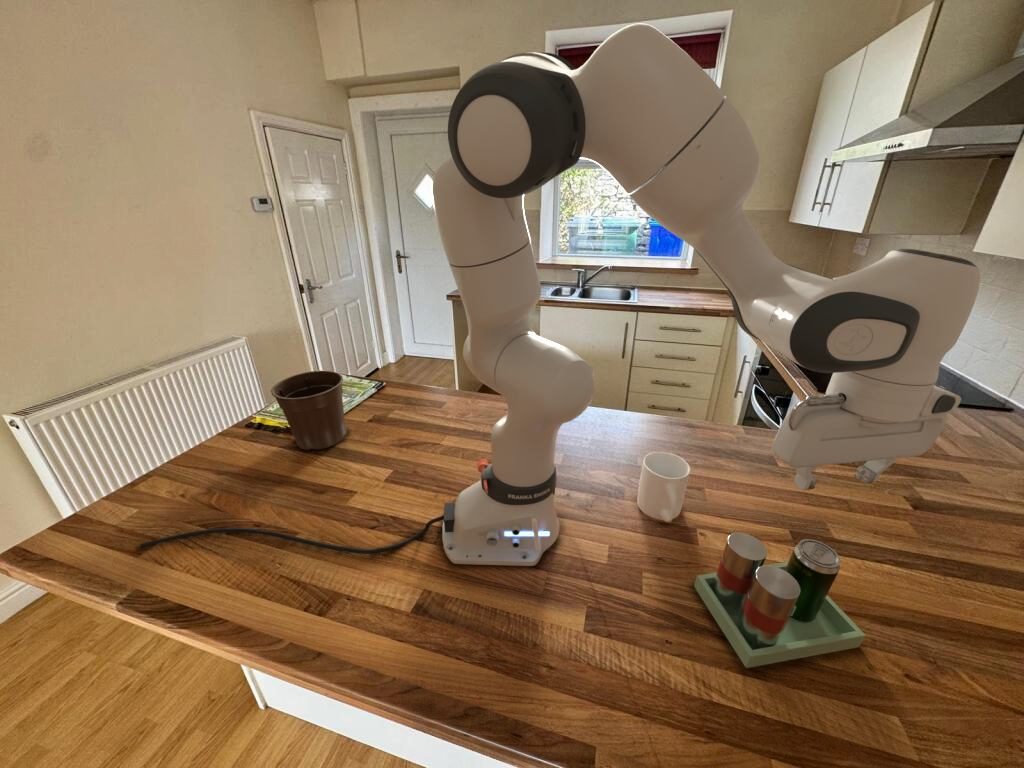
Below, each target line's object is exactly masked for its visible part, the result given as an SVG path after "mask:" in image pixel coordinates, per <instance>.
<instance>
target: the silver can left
mask: <svg viewBox="0 0 1024 768" xmlns="http://www.w3.org/2000/svg"><path fill="white" fill-rule="evenodd" d="M766 547H767V546H765V545H764V543H763V542H762V541H761V540H759V538H756V536H754V535H751V534H748V533H745V532H733V533H731V534H730V535H729V536H728V537H727V540H726V544H725V547H724V550H723V552H722V556H721V558H720V561H719V565H718V567H717V572H716V573H717V575H716V578H715V581H714V585H713V588H712V591H713V593H714V594H715V596H716V597H717V599H718V600H719V602H720V603H721V605H722V606H723V608H724V609H725V610H726V612H727V613H728V615H732V616H740V613H741V611H742V608H743V604H744V601H745V599H746V596H747V593H748V591H749V589H750V587H751V584H752V581H753V579H754V576H755V573H756V571H757V569H758V568H759V567H761V566H764V564H765V561H766V559H767V556H768V549H767V548H766Z"/></svg>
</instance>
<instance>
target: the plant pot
mask: <svg viewBox="0 0 1024 768" xmlns="http://www.w3.org/2000/svg"><path fill="white" fill-rule="evenodd" d="M343 382H344V376H343V375H342V374H341V373H339V372H337V371H335V370H311V371H306V372H301V373H297V374H294V375H291V376H288V377H286V378H284V379H281V380H280V381H278V382H276V383H275V384H274V385H273V386H272V387H271V389H270V394H271V395H272V397H274V398H275V400H276V402H277V404H278V407H279V408H280V409H281V410H282V412H283V414H284V417H285V419H286V421H287V423H288V426H289V428H290V431H291V433H292V435H293V438H294V441H295V443H296V445H297V447H299V448H300V449H301V450H305V451H310V450H315V451H321V450H324V449H328V448H331V447H333V446H335V445H337V444H338V443H340V442H342V441H343V440H344V438H345V436H346V435H347V432H348V431H347V424H346V418H345V410H344V401H343V393H344V390H343Z"/></svg>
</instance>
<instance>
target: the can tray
mask: <svg viewBox="0 0 1024 768" xmlns="http://www.w3.org/2000/svg"><path fill="white" fill-rule="evenodd" d="M788 562H789V561H785V562H784V561H783V562H777V563H770V564H769V565H770V566H775V567H778V568H780V569H782V570H784V571H785V569H786V567H787V565H788ZM716 575H717V572H712V573H704V574H698V575H696V578H695V582H694V584H693V585H694V589H695V590H696V592H697V593H698V595H699V596H700V598H701V600H702V601H703V603H704V604H705V606H706V608H707V609H708V611H709V612H710V614H711V615H712V617H713V619H714V620H715V622H716V623H717V625H718V626H719V628H720V630H721V631H722V632H723V634H724V636H725V637H726V639H727V641H728V642H729V644H730V645H731V647H732V648H733V650H734V651H735V653H736V655H737V657H738V658H739V659H740V661H741V663H742V664H743V666H744V668H746V669H749V668H754V667H759V666H764V665H770V664H775V663H781V662H787V661H792V660H797V659H802V658H807V657H812V656H818V655H823V654H829V653H834V652H839V651H845V650H850V649H856V648H859V647H860V646H861V645H862V643H863V641H864V639H865V638H866V636H867V635H866V634H865V633H864V632H863V631H862V630H861V629H860V627H858V625H857V624H856V623H854V621H853V620H852V619H851V618H850V617H849V616H848V615H847V614H846V613H845V612H844V611H843V610H842V609H841V608H840V606H838V605H837V603H836V602H835V601H833V599H832V598H831V597H830V596H829V595H828V594H827V596H826V598H825V600H824V601H823V603H822V605H821V607H820V609H819V611H818V613H817V615H816V617H815V619H814V620H813V621H811V622H808V623H797V622H795V621H792V620H790V619H789V620H788V622H787V624H786V626H785V629H784V630H783V632H782V634H781V636H780V638H779V641H778V643H777V645H776V646H772V647H766V648H761V649H755V650H752V649H751V648H750V646H749V645H748V643H747V642H746V640H745V639H744V637H743V636H742V634H741V633H740V631H739V630H738V628H737V627H736V624H737V621H738V619H739V616H732V615H728V613H727V612H726V610H725V609H724V608H723V606H722V605H721V603H720V602H719V600H718V599H717V597H716V596H715V594H714V593H713V591H712V588H713V585H714V581H715V578H716Z"/></svg>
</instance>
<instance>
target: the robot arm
mask: <svg viewBox="0 0 1024 768" xmlns="http://www.w3.org/2000/svg"><path fill="white" fill-rule="evenodd" d="M447 141H448V147H449V151H450V155H451V156H450V157H449V158H448V159H447V160H445V161H444V162H443V163H442V164H441V165H440V166H439V167H438V168H437V170H436V171H435V173H434V175H433V177H432V180H431V187H430V189H431V197H432V204H433V210H434V215H435V219H436V224H437V229H438V232H439V237H440V240H441V244H442V247H443V250H444V253H445V256H446V259H447V262H448V265H449V267H450V271H451V273H452V277H453V279H454V282H455V284H456V287H457V291H458V293H459V296H460V299H461V302H462V305H463V308H464V312H465V316H466V322H467V328H468V330H467V331H468V335H467V336H466V339H465V341H464V343H463V347H462V356H463V360H464V363H465V365H466V367H467V368H468V369H469V371H470V372H471V373H472V375H473V376H474V377H476V379H477V380H478V381H479V382H480V383H482V384H483V385H484V386H487V387H488V388H490V389H491V390H493V391H494V392H496V393H498V394H499V395H501V396H502V397H504V400H505V402H506V405H507V414H506V415H504V416H502V417H500V419H499V420H498V421H496V423H495V424H494V425H493V427H492V428H491V432H490V446H491V447H490V448H491V463H490V464H489V463H488V460H487V459H486V458H479V459H478V461H476V467H477V471H478V472H479V473H480V479H479V480H478V481H476V482H475V483H473V484H472V485H470V486H469V487H467V488H465V489H463V490H462V491H461V492H460V493H459V494H458V496H457V498H456V500H455V501H452V502H444V508H443V515H441V516H437V517H435V518H433V519H430V520H429V521H427V522H426V524H425V526H424V528H423V529H421V531H419V532H418V533H416V534H415V535H413V536H412V537H409V538H408V539H406V540H404V541H401V542H397V543H395V544H391V545H388V546H387V545H386V546H383V547H378V548H368V549H366V548H357V547H350V546H342V545H336V544H330V543H324V542H319V541H317V540H316V541H315V540H311V539H306V538H303V537H298V536H294V535H290V534H286V533H283V532H277V531H271V530H264V529H257V528H247V527H224V528H223V527H222V528H211V529H210V528H209V529H202V530H196V531H195V530H194V531H190V532H184V533H179V534H175V535H171V536H170V535H169V536H167V537H163V538H159V539H155V540H149V541H147V542H141V543H140V545H139V548H141V549H142V548H145V547H150V546H154V545H158V544H162V543H165V542H170V541H174V540H178V539H182V538H188V537H194V536H195V537H196V536H200V535H209V534H219V533H247V534H257V535H264V536H269V537H274V538H275V537H276V538H280V539H284V540H287V541H292V542H297V543H299V544H300V543H301V544H305V545H310V546H314V547H318V548H323V549H327V550H334V551H341V552H348V553H353V554H363V555H373V554H379V553H385V552H389V551H393V550H396V549H399V548H401V547H403V546H405V545H407V544H409V543H410V542H412V541H415V540H416V539H418V538H420V537H422V536H423V535H424V534H426V533H427V532H428V531H429V529H430V527H431V525H433V524H435V523H438V522H441V521H443V522H442V528H441V529H442V530H441V531H442V532H441V535H442V536H441V537H442V546H443V551H444V553H445V555H446V557H447V558H448V560H449V561H450V562H451V563H452V564H454V565H476V566H477V565H478V566H510V567H511V566H513V567H514V566H515V567H533V566H536V565H537V564H538V563H539V561H540V560H541V558H542V555H543V553H544V552H545V551H546V550H548V549H549V548H550V547H552V546H553V545H554V544H555V542H556V541H557V539H558V537H559V534H560V529H561V528H560V521H559V518H558V515H557V511H556V506H555V504H556V503H555V494H556V487H557V478H558V477H557V468H556V466H555V454H556V443H557V437H558V433H559V431H560V428H561V427H562V425H564V424H565V423H569V422H572V421H573V420H575V419H578V417H580V416H581V415H582V414H583V413H584V412H585V411H586V410H587V408H588V407H589V406H590V404H591V402H592V400H593V398H594V394H595V390H596V375H595V371H594V369H593V367H592V365H590V363H588V361H586V360H585V359H583V358H582V357H581V356H580V355H578V354H577V353H576V352H574V351H573V350H571V349H570V348H568V347H567V346H564V345H562V344H559V343H557V342H554V341H552V340H549V339H547V338H544V337H542V336H540V335H538V334H537V333H536V332H535V331H534V330H533V328H532V326H531V322H530V313H531V312H532V311H533V309H534V308H535V307H536V306H537V304H538V302H539V301H540V299H541V296H542V284H541V281H540V276H539V271H538V267H537V262H536V258H535V254H534V250H533V244H532V239H531V236H530V232H529V228H528V224H527V219H526V215H525V208H524V197H525V195H528V194H530V193H532V192H535V191H536V190H539V189H540V188H542V187H543V186H545V185H546V184H547V183H549V182H551V180H553V179H555V178H557V177H558V176H560V175H562V174H563V173H564V172H567V171H568V170H569V169H571V168H572V167H574V166H575V165H576V164H578V162H579V161H580V160H589V161H591V162H593V163H595V164H597V165H599V166H600V167H601V168H602V169H603V170H605V172H606V173H607V174H609V176H610V177H612V178H613V180H614V181H615V182H616V183H617V184H618V185H619V187H621V188H622V190H623V191H624V192H625V193H626V194H627V195H628V197H629V198H630V199H631V200H632V201H633V202H634V203H635V204H636V205H637V206H638V207H639V208H640V209H641V210H642V211H643V212H645V213H646V214H647V215H648V216H649V217H650V218H651V219H652V220H654V221H655V222H656V223H657V224H658V225H660V226H661V227H663V228H664V229H665V230H667V231H668V232H670V233H671V234H672V235H674V236H676V237H677V238H678V239H680V240H681V241H683V242H685V243H686V244H688V245H689V246H690V247H692V248H693V250H695V251H696V253H697V254H698V256H700V257H701V259H702V260H703V261H704V263H706V264H707V266H708V267H709V268H710V270H711V271H712V272H713V273H714V274H715V276H716V277H717V278H718V279H719V280H720V281H721V283H722V284H723V285H724V287H725V288H726V290H727V292H728V294H729V296H730V300H731V304H732V309H733V314H734V316H735V320H736V322H737V324H738V326H739V327H740V329H741V330H742V331H743V332H744V333H746V334H747V335H748V336H750V337H752V338H755V339H757V340H758V341H761V342H763V343H764V344H766V345H767V346H769V347H770V348H772V349H773V350H775V351H777V352H778V353H779V354H781V355H782V356H783V357H786V358H787V359H788V360H790V361H792V362H793V363H794V364H795V365H799V366H800V367H802V368H804V369H807V370H809V371H812V372H815V373H822V374H832V375H831V378H830V381H829V382H828V385H827V388H826V389H825V390H826V391H825V395H809V396H806V397H805V398H804V400H802V401H800V402H798V403H797V404H794V405H793V407H792V408H791V409H790V410H789V411H788V413H787V414H786V415H785V417H784V418H783V421H782V422H781V424H780V427H779V429H778V431H777V433H776V434H775V437H774V440H773V442H772V444H771V450H772V452H773V454H774V455H775V456H776V458H778V459H779V460H781V461H782V462H783V463H784V464H786V465H787V466H789V467H790V468H792V469H794V470H795V471H796V474H795V477H794V480H793V482H794V485H795V486H796V487H797V488H798V489H800V490H801V491H808V490H809V491H810V490H813V489H815V488H816V486H815V485H817V483H818V481H819V480H818V478H816V477H815V476H813V474H812V473H813V472H816V470H817V468H818V467H820V466H828V465H829V466H830V465H839V464H849V463H861V462H865V463H864V464H863V465H859V466H858V467H857V468H856V472H855V473H854V477H855V479H856V480H858V481H860V482H861V483H862V484H872V483H876V482H877V480H878V478H879V476H880V475H881V474H882V473H883V472H884V471H886V470H887V469H888V468H889V467H891V466H892V465H893V464H895V461H896V459H901V458H910V457H920V456H922V455H923V454H925V453H926V452H928V450H930V449H931V448H932V447H933V446H934V444H935V442H936V441H937V439H938V438H939V436H940V434H941V433H942V431H943V430H944V428H945V426H946V424H947V421H948V417H949V414H950V413H953V412H955V411H956V410H957V408H958V407H959V405H960V404H961V401H962V397H961V396H960V395H958V394H956V393H953V392H952V391H949V390H946V389H944V388H942V387H939V386H937V385H936V383H937V380H938V379H939V374H940V373H939V372H940V365H941V363H942V361H943V358H944V357H945V356H946V355H947V354H948V352H949V351H950V350H952V349H953V348H954V347H955V345H956V344H957V343H958V341H959V338H960V336H961V334H962V332H963V330H964V329H965V326H966V324H967V322H968V320H969V318H970V315H971V313H972V311H973V308H974V305H975V302H976V300H977V297H978V293H979V289H980V284H981V270H980V268H979V267H978V266H977V265H976V264H975V263H974V262H972V261H970V260H968V259H966V258H962V257H959V256H954V255H949V254H944V253H937V252H931V251H927V250H920V249H914V248H898V249H892V250H890V251H889V252H888V253H886V254H885V256H884V257H882V258H881V259H880V260H877V261H876V262H873V263H872V264H870V265H867V266H866V267H864V268H861V269H859V270H856V271H854V272H850V273H849V274H845V275H841V276H836V277H833V278H830V277H829V278H828V277H826V276H822V275H819V274H815V273H812V272H809V271H807V270H805V269H803V268H800V267H797V266H795V265H792V264H789V263H787V262H786V263H785V262H783V261H781V260H780V259H779V258H778V257H776V256H775V255H774V253H773V252H772V251H771V249H770V248H769V247H768V245H767V244H766V242H765V241H764V239H763V238H762V237H761V236H760V234H759V233H758V232H757V230H756V228H755V227H754V226H753V225H752V223H751V222H750V220H749V219H748V217H747V216H746V213H745V210H744V202H745V201H746V199H747V198H748V196H749V195H750V193H751V191H752V189H753V187H754V185H755V183H756V179H757V176H758V172H759V169H760V168H759V167H760V160H761V159H760V157H761V155H760V152H759V150H758V146H757V145H756V142H755V140H754V138H753V135H752V133H751V131H750V129H749V127H748V125H747V124H746V122H745V119H744V118H743V117H742V116H741V114H740V112H739V111H738V110H737V108H736V107H735V106H734V104H733V103H732V102H731V101H730V99H729V98H728V97H727V96H726V94H725V93H724V92H723V90H722V89H721V88H720V87H719V86H718V84H717V83H716V82H715V81H714V80H713V78H712V77H711V76H710V75H709V74H708V73H707V72H706V71H705V69H704V68H702V66H701V65H699V63H697V61H695V59H693V58H692V57H691V56H690V55H689V54H688V53H687V52H686V51H685V50H684V49H683V48H681V47H680V46H679V45H678V44H677V43H675V42H674V41H673V40H672V39H671V38H670V37H668V36H667V35H665V34H664V33H663V32H661V30H659V29H658V28H656V27H654V26H653V25H651V24H647V23H643V22H638V23H632V24H628V25H626V26H624V27H621V28H620V29H618V30H617V31H615V32H614V33H612V34H611V35H609V36H608V37H607V38H606V39H605V40H603V41H602V42H601V44H600V45H599V46H597V48H596V49H595V50H594V51H593V53H592V54H591V55H590V57H589V58H588V59H587V60H586V61H585V62H584V63H583V65H580V67H578V68H575V67H574V66H573V65H572V63H571V62H569V61H568V60H567V59H566V58H564V57H562V56H561V55H558V54H556V53H551V52H534V51H533V52H532V51H531V52H527V51H526V52H521V53H520V52H519V53H514V54H512V55H510V56H507V57H506V58H504V59H502V60H501V61H499V62H493V63H490V64H487V65H485V66H483V67H482V68H480V69H479V70H477V71H476V72H474V73H473V74H472V75H471V76H470V77H469V78H468V79H467V80H466V81H465V83H464V84H463V85H462V86H461V87H460V88H459V91H458V92H457V94H456V95H455V97H454V100H453V102H452V105H451V108H450V111H449V116H448V121H447ZM948 413H949V414H948Z"/></svg>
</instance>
